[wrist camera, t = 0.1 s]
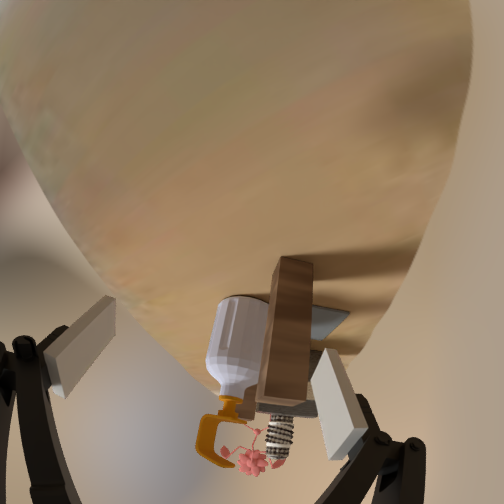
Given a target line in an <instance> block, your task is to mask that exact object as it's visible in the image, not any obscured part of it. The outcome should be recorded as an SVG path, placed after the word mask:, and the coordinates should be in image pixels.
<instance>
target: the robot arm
mask: <svg viewBox="0 0 504 504" xmlns="http://www.w3.org/2000/svg"><path fill="white" fill-rule="evenodd" d="M115 315H116V299H115V298H113V297H109V296H107V295H105V296H104V297H103V298H102V299H100V300H99V301H98V302H97V303H96V304H95V305H94V306H92V307H91V308H90V309H89V310H88V311H87V312H86V313H84V314H83V315H82V316H81V317H80V318H79V319H78V320H77V321H76V322H74V324H72V325H71V326H70V327H68V326H65V325H63V326H61V327H58V328H56V329H55V330H54V331H53V332H52V333H51V334H49V335H48V336H47V338H45V339H44V340H43V341H42V342H40V343H39V344H38V345H37V346H36V342H35V340H34V339H33V338H32V337H30V336H25V335H23V336H18V337H16V338H15V339H14V340H13V342H12V346H13V350H14V353H13V352H9V351H6V348H5V345H4V344H3V343H2V342H0V504H6V459H7V447H8V437H9V430H10V423H11V417H12V411H13V406H14V401H15V396H17V409H18V418H19V425H20V433H21V439H22V446H23V450H24V456H25V461H26V465H27V469H28V473H29V477H30V481H31V487H30V495H31V498H32V502H33V504H82V503H81V501H80V498H79V496H78V493H77V491H76V489H75V486H74V484H73V481H72V479H71V475H70V473H69V470H68V467H67V464H66V461H65V458H64V455H63V451H62V448H61V444H60V441H59V437H58V433H57V429H56V425H55V421H54V417H53V412H52V407H51V402H50V396H49V392H48V389H49V388H50V386H51V385H52V388H53V392H54V393H55V394H57V395H59V396H61V397H63V398H64V399H66V398H67V397H68V395H69V394H70V392H71V391H72V390H73V388H74V387H75V386H76V384H77V383H78V382H79V381H80V379H81V378H82V377H83V375H84V374H85V373H86V371H87V370H88V369H89V367H90V366H91V365H92V364H93V362H94V361H95V360H96V358H97V357H98V356H99V355H100V354H101V352H102V351H103V350H104V348H105V347H106V346H107V345H108V343H109V342H110V341H111V340H112V338H113V337H114V336H115ZM310 381H311V385H312V389H313V394H314V398H315V402H316V406H317V411H318V415H319V419H320V424H321V428H322V432H323V437H324V441H325V446H326V450H327V455H328V459H329V460H343V459H344V457H345V456H346V455H347V454H348V457H349V460H348V462H347V463H346V464H345V465H344V466H343V467H342V468H341V469H340V470H341V471H340V472H339V474H338V475H337V476H336V478H335V479H334V480H333V481H332V483H331V484H330V486H329V487H328V488H327V489H326V491H325V492H324V493H323V494H322V495H321V496H320V498H319V499H318V500H317V501H316V502H315V504H360V503H361V502H362V500H363V499H364V497H365V495H366V494H367V492H368V490H369V489H370V487H371V485H372V483H373V482H374V480H375V478H376V476H377V475H378V478H377V483H376V487H375V491H374V496H373V500H372V503H371V504H423V503H424V491H425V474H426V447H425V444H424V443H423V441H421V440H420V439H418V438H416V437H411V438H408V439H407V440H406V441H405V442H404V443H402V442H396V441H392V438H391V437H390V436H389V435H388V434H387V433H385V432H383V431H380V429H379V426H378V424H377V422H376V419H375V417H374V415H373V413H372V410H371V408H370V405H369V403H368V401H367V399H366V398H365V397H364V396H363V395H362V394H355V393H354V390H353V388H352V385H351V383H350V380H349V378H348V376H347V373H346V371H345V368H344V366H343V364H342V361H341V359H340V357H339V354H338V352H337V350H336V349H330V348H325V350H324V352H323V354H322V356H321V359H320V361H319V363H318V365H317V367H316V370H315V372H314V374H313V376H312V378H311V380H310Z"/></svg>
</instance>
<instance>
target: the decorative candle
mask: <svg viewBox="0 0 504 504" xmlns="http://www.w3.org/2000/svg"><path fill="white" fill-rule="evenodd" d="M269 424H270V425H268V427H269V428H270V429H268V430H267V431H268V432H269V434H267V435H266V437H268V438H267V439H265V441H266V442H267V444H266V446H267V448H266V455H267V457H268V458H270V459H279V460H284V459H286V458H287V457H288V455H289V448H290V445H291V444H292V443H293V442H292V441H291V440H290V439H292V438H293V436H292V434H293V433H294V432H293V431H292V429H293V428H294V426H293V425H294V424H293V417H292V416H282V415H273V414H271V421H270V422H269Z"/></svg>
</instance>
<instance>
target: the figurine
mask: <svg viewBox="0 0 504 504" xmlns="http://www.w3.org/2000/svg"><path fill="white" fill-rule="evenodd" d="M270 421H271V414H270ZM244 425H245V424H244ZM246 426H247V425H246ZM247 427H249V426H247ZM249 428H250V427H249ZM268 428H269V427H268ZM250 429H252V428H250ZM265 429H267V428H265ZM252 430H253V429H252ZM263 430H264V429H263ZM263 430H261V431H263ZM261 431H260V430H259V429H255V430H254V434H256V437H257V435H259V434H260V433H261ZM256 437H255V440H256ZM255 440H254V442H255ZM254 442H253V444H252V450H253V451H251V450H250V449H246V448H243V447H241V446H240V447H241V448H243V449H245V450H247V451H246V453H245V455H244V454H239V458H240V460H238V464H239V465H240V466H241V467H240V469H239V471H240V472H246V475H251V474H252V473H253V475H254V476H255V477H257V476H258V475H259V473H260V471H261V472H265V467H264V466H267V465H268V462H267V461H265V460H264V459H266V455H264V454H260V453H266V451H262V452H261V451H259V450H255V451H254V449H253V445H254ZM238 448H239V447H238ZM238 448H236V449H235V450H234V451H233V452H235V451H236V450H237V449H238ZM220 452H221V455H222V456H223V457H224V458H225V459H227V458H228V457H229V456H230V455H231V454H232V453H233V452H232V453H230V452H229V450H228V449H227V448H226V447H225V446H223V447H222V448H221V451H220ZM269 460H270V464H271V467H272V469H275V468H278V467H280V466H281V465H283V464H284V462H285V460H286V459H284V460H277V461H276V462H275V463H274V464H273V465H272V462H271V459H270V458H269Z"/></svg>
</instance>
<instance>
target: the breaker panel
mask: <svg viewBox="0 0 504 504" xmlns="http://www.w3.org/2000/svg"><path fill="white" fill-rule="evenodd" d="M321 356H322V351H315V350H310V359H309V374H308V386H307V398H306V401H305V402H303V403H300V404H298V405H295V406H284V405H276V404H268V403H261V402H257V406H256V412H259V413H266V414H273V415H282V416H292V417H304V418H316V417H317V416H318V411H317V406H316V402H315V398H314V394H313V389H312V385H311V381H310V380H311V378H312V376H313V374H314V372H315V370H316V367H317V365H318V363H319V361H320V359H321Z"/></svg>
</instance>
